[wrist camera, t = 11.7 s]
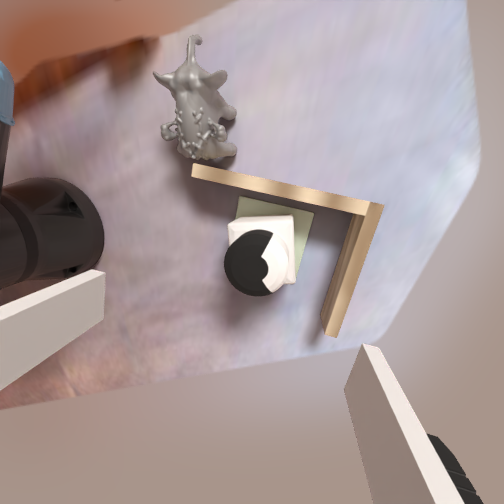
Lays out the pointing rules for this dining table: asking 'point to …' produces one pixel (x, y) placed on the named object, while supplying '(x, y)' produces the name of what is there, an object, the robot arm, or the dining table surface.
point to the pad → (265, 208)
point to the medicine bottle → (261, 253)
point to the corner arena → (354, 243)
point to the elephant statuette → (198, 109)
